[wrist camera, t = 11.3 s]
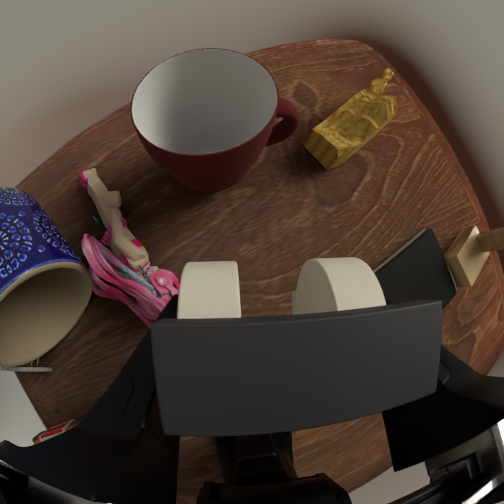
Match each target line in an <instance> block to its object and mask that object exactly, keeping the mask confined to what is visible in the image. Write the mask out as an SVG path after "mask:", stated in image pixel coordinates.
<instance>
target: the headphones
mask: <svg viewBox="0 0 504 504" xmlns="http://www.w3.org/2000/svg"><path fill="white" fill-rule="evenodd" d="M150 331H151V344H152V355H153V365H154V374H155V383H156V390H157V398H158V405H159V411H160V417H161V423H162V429H163V433H164V434H166V435H179V436H246V435H261V434H272V433H281V432H289V431H296V430H303V429H309V428H315V427H321V426H326V425H331V424H336V423H340V422H345V421H349V420H353V419H357V418H361V417H365V416H368V415H372V414H376V413H379V412H382V411H386V410H389V409H392V408H395V407H398V406H401V405H404V404H407V403H410V402H412V401H415V400H418V399H420V398H423V397H425V396H428V395H430V394H433V393H435V391H436V386H437V378H438V370H439V361H440V349H441V331H442V301H440V300H417V301H411V302H404V303H397V304H390V305H386V302H385V298H384V295H383V292H382V289H381V286H380V284H379V282H378V280H377V278H376V276H375V274H374V273H373V271H372V270H371V268H370V267H369V266H368V265H367V264H366V263H365V262H364V261H362V260H360V259H358V258H354V257H348V258H320V259H310V260H308V261H307V262H306V263H305V264H304V265H303V267H302V270H301V272H300V275H299V279H298V284H297V290H296V292H292V315H280V316H263V317H241V308H240V292H239V278H238V268H237V263H236V261H217V262H188V263H187V264H186V265H185V266H184V269H183V272H182V276H181V280H180V286H179V294H178V307H177V319H169V318H163V319H160V320H158V321H156V322H154V323H152V324H151V325H150Z"/></svg>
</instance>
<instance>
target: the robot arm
mask: <svg viewBox="0 0 504 504" xmlns="http://www.w3.org/2000/svg"><path fill="white" fill-rule="evenodd" d="M384 298H385V302H386V305H390V304H393V303H392V302H391V301H390V300H389V299H387V298H386V297H385V296H384ZM177 307H178V294H174V295H173V296H172V298H171V299H170V300H169V302H168V303H167V305H166V306H165V307H164V309H163V310H162V312H161V313H160V314H159V316H158V317H157V319H156V320H155V322H156V321H158V320H160V319H163V318H169V319H177ZM125 365H126V366H124V367H123V368H122V370H121V371H120V373H119V374H118V375H117V377H116V378H115V380H114V381H113V383H112V384H111V385H110V387H109V388H108V389H107V390H106V392H105V393H104V394H103V395H102V396H101V398H100V399H99V400H98V401H97V402H96V404H95V405H94V406H93V407H92V408H91V410H90V411H89V412H88V413H87V414H86V416H85V417H84V418H83V419H82V420H81V421H80V422H79V423H78V424H77V425H76V426H74V427H73V428H71V429H69V430H67V431H65V432H63V433H61V434H58V435H56V436H54V437H51V438H49V439H47V440H44V441H42V442H40V443H37V444H35V445H32V446H28V447H19V446H16V445H15V444H13V443H11V442H9V441H7V440H4V441H2V442H0V460H2V461H4V462H5V463H7V464H9V465H10V466H9V465H7V464H5V463H3V462H0V504H176V494H177V473H178V457H179V456H178V455H179V442H180V436H179V435H166V434H164V433H163V429H162V423H161V417H160V411H159V405H158V398H157V390H156V383H155V374H154V365H153V355H152V344H151V331H150V329H149V330H148V332H147V333H146V334H145V336H144V337H143V339H142V340H141V342H140V343H139V345H138V346H137V348H136V349H135V350H134V352H133V353H132V355H131V356H130V358H129V359H128V361H127V362H126V364H125ZM382 416H383V420H384V424H385V428H386V434H387V438H388V443H389V448H390V453H391V458H392V463H393V469H394V472H396V471H400V470H403V469H405V468H408V467H411V466H413V465H416V464H419V463H421V462H424V461H425V465H426V469H427V473H428V476H430V484H428V485H426V486H425V487H423V488H421V489H419V490H417V491H415V492H413V493H411V494H409V495H406V496H405V497H402V498H400V499H398V500H395V501H393V502H391V503H388V504H495V503H498V502H501V501H504V377H493V376H485V375H482V374H480V373H478V372H476V371H475V370H473V369H472V368H471V367H469V366H468V365H467V364H466V363H464V362H463V361H462V360H460V359H459V358H458V357H456V356H455V355H454V354H452V353H451V352H450V351H449V350H447V349H446V348H445V347H444V346H443V345H442V344H441V349H440V361H439V370H438V378H437V386H436V391H435V393H433V394H430V395H428V396H425V397H423V398H420V399H418V400H415V401H412V402H410V403H407V404H404V405H401V406H398V407H395V408H392V409H389V410H386V411H382ZM221 438H222V439H224V440H223V441H221V440H219V439H221ZM216 444H217V449H218V454H219V458H220V463H221V467H222V472H223V476H224V480H225V483H212V481H205V482H204V486H203V488H202V487H201V490H200V493H199V496H197V503H196V504H352V502H351V499H350V497H349V495H348V493H347V492H346V491H345V490H344V489H343V488H342V487H341V486H339V485H338V484H337V483H336V482H334V481H333V480H332V479H331V478H329V477H328V476H327V475H326V474H324V473H319V474H316V475H314V476H308V477H302V478H298V476H297V474H296V471H295V469H294V467H293V453H292V436H291V431H289V432H286V433H283V432H281V433H272V434H261V435H246V436H216Z"/></svg>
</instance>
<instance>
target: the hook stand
mask: <svg viewBox="0 0 504 504" xmlns="http://www.w3.org/2000/svg"><path fill="white" fill-rule="evenodd" d="M500 249H504V227H502V228H498V229H494V230H490V231H486V232H482V233H479V231H478V229H477V227H476V225H474V226H471V227H467V228H464V229H461V230H460V232H459V233H458V235H457V237H456V238H455V240H454V241H453V243H452V244H451V246H450V247H449V248H448V250H447V251H446V253H445V254H444V257H445V259H446V262H447V264H448V266H449V269H450V271H451V274H452V276H453V279H454V282H455V284H456V287H471V286H472V285H473V283H474V281H475V280H476V278H477V276H478V274H479V273H480V271H481V269H482V267H483V265H484V263H485V261H486V259H487V257H488V256H489V251H495V250H500Z"/></svg>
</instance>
